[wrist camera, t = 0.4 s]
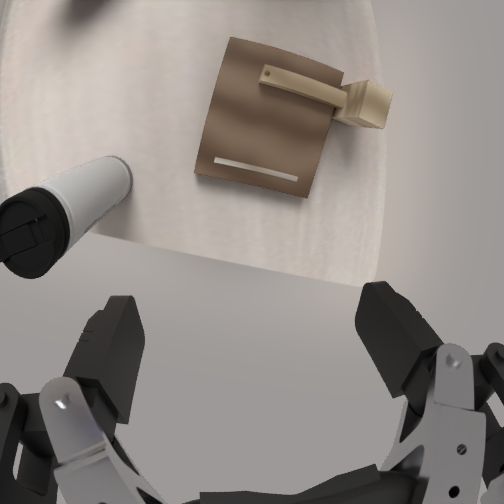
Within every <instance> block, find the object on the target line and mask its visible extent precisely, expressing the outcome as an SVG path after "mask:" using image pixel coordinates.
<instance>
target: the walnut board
mask: <svg viewBox="0 0 504 504" xmlns="http://www.w3.org/2000/svg"><path fill="white" fill-rule="evenodd" d="M265 64H266V65H270V66H274V67H277V68H280V69H284V70H287V71H290V72H293V73H296V74H299V75H302V76H305V77H308V78H311V79H314V80H316V81H319V82H322V83H324V84H327V85H329V86H332V87H334V88H337V89H340V86H341V82H342V78H343V74H344V72H341V71H339V70H337V69H334V68H332V67H329V66H327V65H324V64H322V63H319V62H316V61H314V60H311V59H308V58H305V57H303V56H300V55H297V54H294V53H291V52H287V51H284V50H281V49H278V48H274V47H271V46H267V45H263V44H260V43H256V42H252V41H247V40H243V39H238V38H234V37H230V39H229V42H228V46H227V49H226V52H225V55H224V58H223V61H222V65H221V68H220V71H219V75H218V78H217V82H216V85H215V89H214V92H213V96H212V99H211V103H210V107H209V111H208V115H207V119H206V122H205V126H204V131H203V135H202V139H201V143H200V147H199V152H198V156H197V161H196V165H195V170H194V173H197V174H202V175H207V176H212V177H217V178H222V179H227V180H232V181H236V182H241V183H245V184H250V185H254V186H258V187H263V188H267V189H271V190H275V191H279V192H283V193H287V194H291V195H295V196H299V197H303V198H308V195H309V192H310V189H311V185H312V182H313V179H314V176H315V173H316V169H317V166H318V163H319V159H320V156H321V153H322V149H323V146H324V143H325V139H326V136H327V132H328V129H329V125H330V122H331V118H332V115H333V111H334V108H335V107H333V106H330V105H328V104H325V103H322V102H319V101H317V100H314V99H311V98H308V97H305V96H302V95H299V94H296V93H293V92H290V91H287V90H284V89H280V88H277V87H274V86H270V85H266V84H263V83H259V78H260V75H261V71H262V68H263V66H264V65H265Z"/></svg>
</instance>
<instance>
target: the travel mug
mask: <svg viewBox="0 0 504 504" xmlns="http://www.w3.org/2000/svg"><path fill="white" fill-rule="evenodd" d="M131 186H132V174H131V171H130V168H129V166H128V165H127V164H126V163H125V161H123V160H122V159H121V158H118V157H115V156H106V157H103V158H100V159H97V160H94V161H91V162H89V163H86V164H83V165H80V166H78V167H75V168H73V169H70V170H68V171H65V172H63V173H60V174H58V175H55V176H53V177H51V178H48V179H46V180H44V181H42V182H40V183H37V184H35V185H33V186H31V187H29V188H27V189H25V190H24V191H23V192H20V193H18V194H16V195H14V196H12V197H10V198H8V199H7V200H5V201H4V202H3V203H2V204H1V205H0V262H3V263H4V264H5V266H6V267H7V268H8V269H9V270H10V271H12V272H13V273H14V274H16V275H18V276H20V277H23V278H27V279H35V278H39V277H41V276H43V275H44V274H45V273H47V272H48V271H49V269H50V268H51V267H52V266H53V265H54V264H55V263H56V262H57V261H58V260H59V259H60V258H61V257H62V256H64V254H65V253H66V252H67V251H68V250H69V249H70V248H71V247H72V246H73V245H74V244H75V243H76V242H77V241H78V240H79V239H80V238H81V237H82V236H83V235H84V234H85V233H86V232H87V231H88V230H89V229H91V228H92V227H93V226H94V225H95V224H96V223H97V222H98V221H99V220H100V219H101V218H102V217H103V216H105V215H106V214H107V213H108V212H109V211H110V210H111V209H112V208H113V207H115V206H116V205H117V204H118V203H119V202H120V201H121V200H123V199H124V198H125V197H126V196H127V194H128V193H129V191H130V189H131Z"/></svg>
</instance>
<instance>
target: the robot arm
mask: <svg viewBox="0 0 504 504" xmlns="http://www.w3.org/2000/svg"><path fill="white" fill-rule="evenodd" d="M355 327H356V331H357V333H358V335H359V336H360V338H361V340H362V342H363V344H364V345H365V347H366V349H367V351H368V353H369V354H370V356H371V358H372V360H373V361H374V364H375V365H376V367H377V369H378V371H379V373H380V375H381V377H382V378H383V380H384V382H385V384H386V386H387V388H388V390H389V392H390V394H391V396H392V398H396V397H399V396H402V395H405V396H406V398H407V399H406V401H405V403H404V405H403V410H402V414H401V418H400V422H399V426H398V430H397V434H396V438H395V441H394V444H393V447H392V449H391V451H390V453H389V455H388V456H387V458H386V459H385V461H384V463H383V465H382V467H381V469H380V471H378V470H377V467H376V464H373V465H370V466H367V467H364V468H361V469H358V470H354V471H351V472H348V473H345V474H341V475H337V476H335V477H333V478H331V479H329V480H327V481H325V482H323V483H321V484H319V485H317V486H315V487H313V488H310V489H308V490H306V491H304V492H301V493H299V494H295V495H282V494H269V493H258V492H250V491H236V492H200V499H198V500H193V501H189V502H186V503H183V504H477V499H478V494H479V489H480V483H481V477H483V480H484V482H485V484H486V488H487V490H488V491H486V492H485V493H483V495H482V496H481V499H480V501H481V504H504V427H503V428H502V427H500V425H499V423H498V422H497V420H496V418H495V416H494V414H493V412H492V410H491V409H490V407H489V405H488V403H487V402H486V401H487V400H488V399H489V398H490V397H491V395H492V394H493V393H494V392H496V393H497V395H498V397H499V398H500V400H501V402H502V403H503V405H504V345H503V344H500V343H491V344H490V345H489V346H488V348H487V349H486V351H485V352H484V354H483V355H469V353H468V352H467V351H466V350H465V349H464V348H462V347H461V346H459V345H456V344H452V343H450V344H449V343H448V344H444V343H443V342H442V340H441V339H440V338H439V337H438V335H437V334H436V333H435V331H434V330H433V329H432V328H431V327H430V325H429V324H428V323H427V322H426V320H425V319H424V318H422V316H421V314H420V313H419V312H418V311H416V309H415V307H414V306H413V305H412V304H411V303H410V301H409V300H408V299H406V298H405V297H403V296H401V295H400V294H398V293H396V292H395V291H394V290H393V288H392V287H391V286H390V285H389V284H388V283H387V282H386V281H379V282H370V283H366V284H365V285H364V286H363V290H362V293H361V297H360V301H359V305H358V308H357V312H356V316H355ZM144 345H145V336H144V330H143V326H142V323H141V320H140V316H139V313H138V309H137V306H136V303H135V299H134V297H133V296H111V297H110V298H109V300H108V302H107V304H106V306H105V308H104V310H98V311H97V312H96V313H95V314H94V315H93V316H92V317H91V318H90V319H89V320H88V322H87V324H86V326H85V328H84V330H83V333H82V334H81V336H80V338H79V342H78V343H77V345H76V347H75V349H74V351H73V354H72V356H71V358H70V360H69V362H68V365H67V367H66V369H65V372H64V374H63V377H57V378H54V379H52V380H50V381H49V382H48V383H46V384H45V386H44V387H43V388H42V390H41V392H40V393H33V394H22V395H21V394H20V393H19V392H18V391H17V390H16V388H15V387H14V386H13V385H12V384H9V383H1V384H0V504H56V501H57V490H58V486H59V488H60V490H61V493H62V495H63V497H64V499H65V501H66V503H67V504H167V503H166V502H165V501H164V499H163V498H162V497H161V496H160V495H159V494H158V493H157V491H156V490H155V489H154V488H153V487H152V486H151V485H150V484H149V483H148V481H147V480H146V479H145V478H144V476H143V475H142V474H141V472H140V471H139V469H138V468H137V467H136V465H135V464H134V462H133V461H132V459H131V458H130V456H129V455H128V453H127V451H126V450H125V448H124V447H123V445H122V443H121V442H120V440H119V438H118V437H117V435H116V434H115V428H116V423H121V424H128V422H129V416H130V411H131V405H132V400H133V395H134V390H135V385H136V380H137V376H138V371H139V367H140V362H141V358H142V353H143V349H144ZM18 443H21V444H22V445H23V450H22V454H21V460H20V464H19V470H18V475H17V479H16V480H15V478H14V475H13V466H14V461H15V456H16V452H17V447H18Z"/></svg>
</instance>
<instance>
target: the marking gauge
mask: <svg viewBox="0 0 504 504" xmlns="http://www.w3.org/2000/svg"><path fill="white" fill-rule="evenodd" d="M259 83H263V84H266V85H270V86H274V87H277V88H280V89H284V90H287V91H290V92H293V93H296V94H299V95H302V96H305V97H308V98H311V99H314V100H317V101H319V102H322V103H325V104H328V105H330V106H333V107H335V108H334V111H333V115H332V119H335V120H337V121H340V122H342V123H345V124H347V125H350V126H358V127H369V128H379V129H384V127H385V123H386V119H387V115H388V111H389V108H390V103H391V99H392V95H393V93H392V92H390V91H388V90H387V89H385V88H383V87H381V86H379V85H377V84H376V83H374V82H372V81H370V80H366V81H361V82H357V83H353V84H348V85H344V86H340V89H337V88H334V87H332V86H329V85H327V84H324V83H322V82H319V81H316V80H314V79H311V78H308V77H305V76H302V75H299V74H296V73H293V72H290V71H287V70H284V69H280V68H277V67H274V66H270V65H266V64H265V65H264V66H263V68H262V71H261V75H260V78H259Z"/></svg>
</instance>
